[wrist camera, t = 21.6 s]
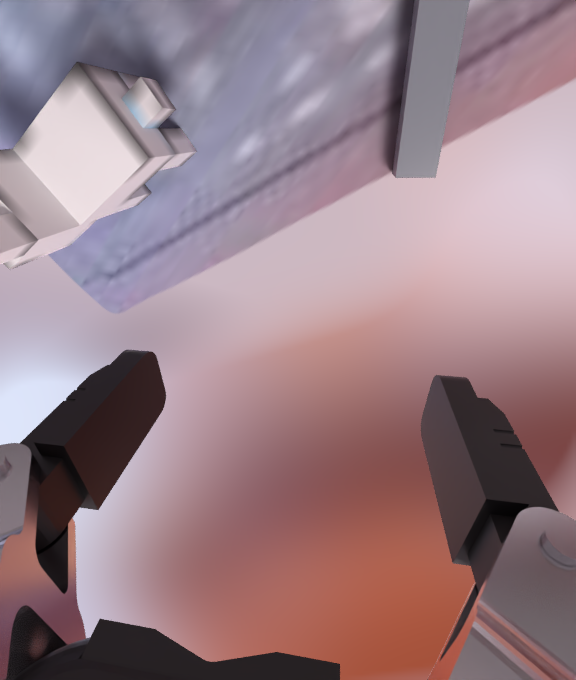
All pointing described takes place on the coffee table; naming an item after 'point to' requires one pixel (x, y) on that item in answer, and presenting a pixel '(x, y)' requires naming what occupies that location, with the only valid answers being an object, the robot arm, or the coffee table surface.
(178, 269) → the coffee table surface
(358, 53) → the coffee table surface
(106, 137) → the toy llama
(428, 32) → the orange-tipped gray rod
